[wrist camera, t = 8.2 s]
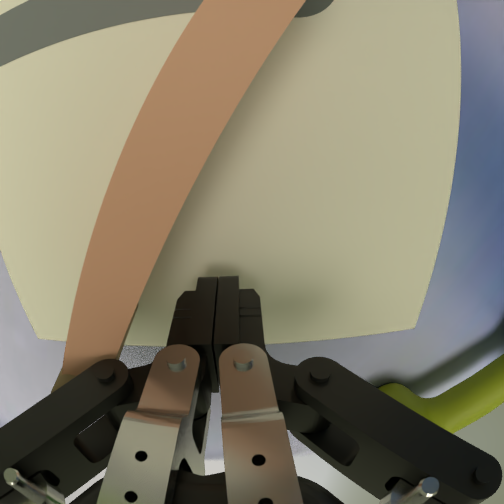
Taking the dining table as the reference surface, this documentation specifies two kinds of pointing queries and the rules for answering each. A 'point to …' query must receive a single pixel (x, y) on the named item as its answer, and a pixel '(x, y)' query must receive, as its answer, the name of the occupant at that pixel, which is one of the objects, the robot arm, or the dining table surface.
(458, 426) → the dumbbell
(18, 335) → the dining table surface
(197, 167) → the gate
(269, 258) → the card
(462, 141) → the dining table surface
